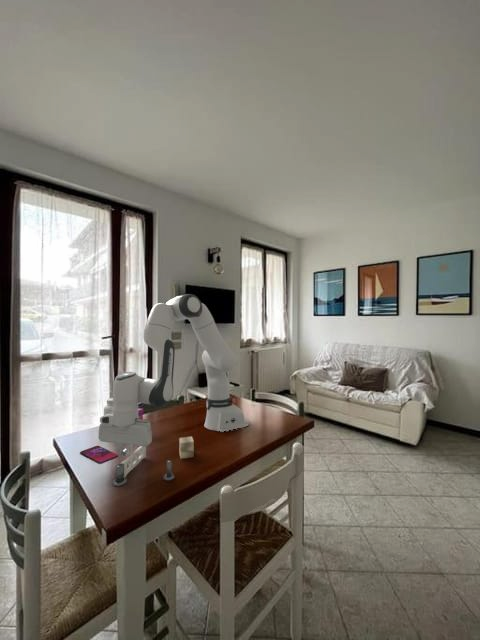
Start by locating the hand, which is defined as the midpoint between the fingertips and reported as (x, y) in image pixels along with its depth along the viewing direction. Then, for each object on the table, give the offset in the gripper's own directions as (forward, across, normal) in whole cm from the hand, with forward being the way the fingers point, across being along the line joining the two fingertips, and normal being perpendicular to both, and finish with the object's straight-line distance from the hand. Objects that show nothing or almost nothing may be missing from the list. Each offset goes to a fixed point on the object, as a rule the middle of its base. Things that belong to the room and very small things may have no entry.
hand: (124, 455), depth 103 cm
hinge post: (+3, -6, +11) cm, 13 cm away
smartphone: (+4, +14, -4) cm, 15 cm away
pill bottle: (+3, +25, -26) cm, 37 cm away
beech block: (+3, -19, -12) cm, 23 cm away
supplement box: (+3, +13, -25) cm, 28 cm away
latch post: (+3, -20, +5) cm, 21 cm away
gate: (+3, -5, +2) cm, 6 cm away
